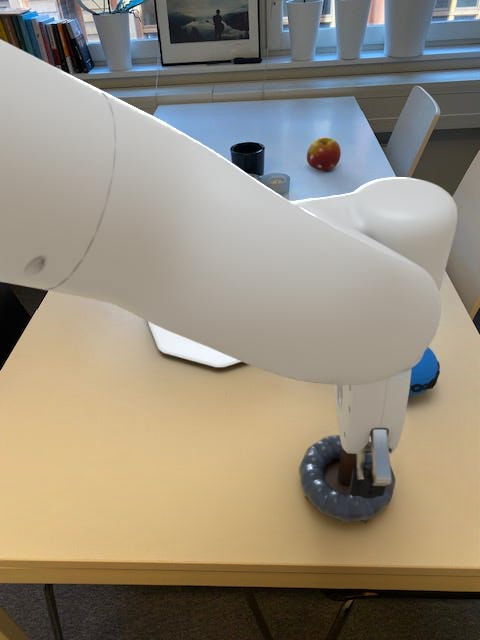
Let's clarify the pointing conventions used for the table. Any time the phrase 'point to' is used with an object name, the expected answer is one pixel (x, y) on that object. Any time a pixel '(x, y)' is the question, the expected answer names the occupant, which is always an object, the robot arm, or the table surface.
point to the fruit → (323, 154)
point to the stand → (341, 473)
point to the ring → (333, 500)
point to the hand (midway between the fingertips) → (359, 451)
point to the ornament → (424, 373)
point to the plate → (189, 349)
